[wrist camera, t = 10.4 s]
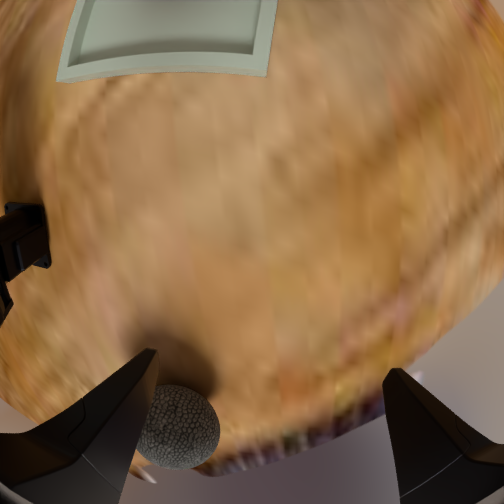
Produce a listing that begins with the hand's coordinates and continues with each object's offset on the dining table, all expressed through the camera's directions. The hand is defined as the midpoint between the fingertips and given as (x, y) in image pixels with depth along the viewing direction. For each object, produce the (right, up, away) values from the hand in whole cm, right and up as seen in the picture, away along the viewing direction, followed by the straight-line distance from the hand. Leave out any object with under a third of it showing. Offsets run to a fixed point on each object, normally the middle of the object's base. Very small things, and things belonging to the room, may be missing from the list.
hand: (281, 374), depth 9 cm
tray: (-7, +24, +3) cm, 26 cm away
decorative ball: (-9, -12, +19) cm, 25 cm away
